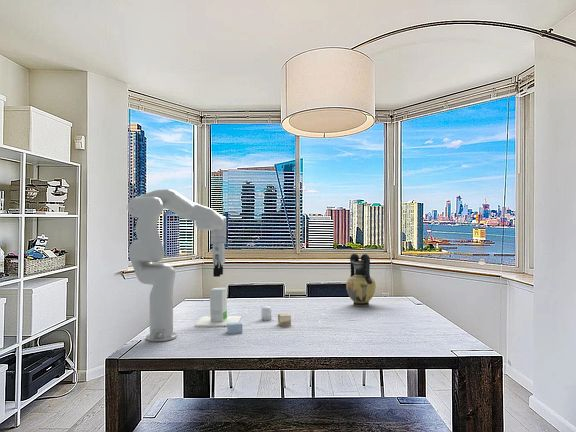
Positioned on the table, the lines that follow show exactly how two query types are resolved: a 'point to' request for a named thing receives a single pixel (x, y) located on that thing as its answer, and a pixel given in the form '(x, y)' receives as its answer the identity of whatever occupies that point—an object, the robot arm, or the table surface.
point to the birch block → (284, 319)
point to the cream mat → (206, 322)
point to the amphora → (360, 281)
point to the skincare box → (218, 304)
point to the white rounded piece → (266, 313)
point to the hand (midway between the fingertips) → (218, 275)
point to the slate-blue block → (234, 327)
